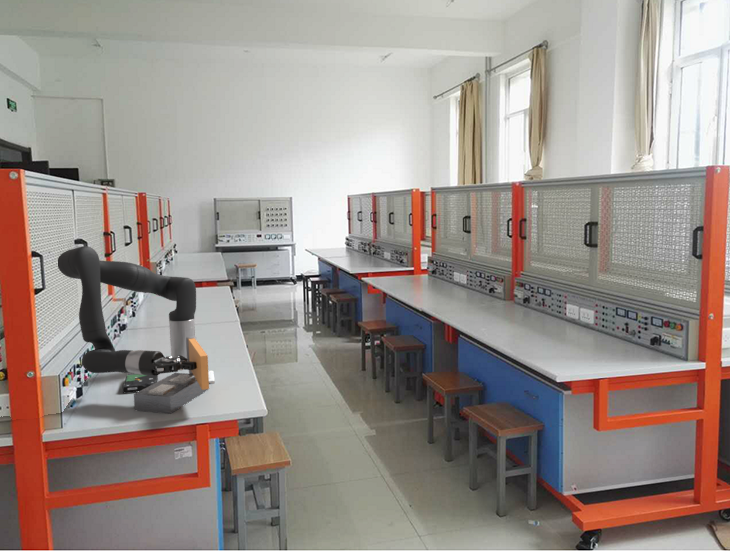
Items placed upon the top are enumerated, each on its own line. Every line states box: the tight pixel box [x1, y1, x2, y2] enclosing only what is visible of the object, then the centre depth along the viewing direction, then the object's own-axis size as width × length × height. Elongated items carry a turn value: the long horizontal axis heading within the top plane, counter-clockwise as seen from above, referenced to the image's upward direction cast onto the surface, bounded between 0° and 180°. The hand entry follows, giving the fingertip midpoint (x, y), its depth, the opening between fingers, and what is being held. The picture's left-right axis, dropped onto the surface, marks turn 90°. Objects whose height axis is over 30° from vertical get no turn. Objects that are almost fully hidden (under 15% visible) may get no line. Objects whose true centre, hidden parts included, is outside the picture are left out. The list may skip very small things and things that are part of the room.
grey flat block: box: [133, 372, 209, 415], centre depth 180 cm, size 22×12×5 cm, turn 166°
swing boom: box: [186, 336, 210, 390], centre depth 180 cm, size 27×3×10 cm, turn 25°
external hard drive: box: [208, 370, 215, 384], centre depth 201 cm, size 2×8×12 cm
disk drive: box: [122, 373, 159, 394], centre depth 195 cm, size 10×3×15 cm
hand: (195, 366), depth 175 cm, fingers closed
